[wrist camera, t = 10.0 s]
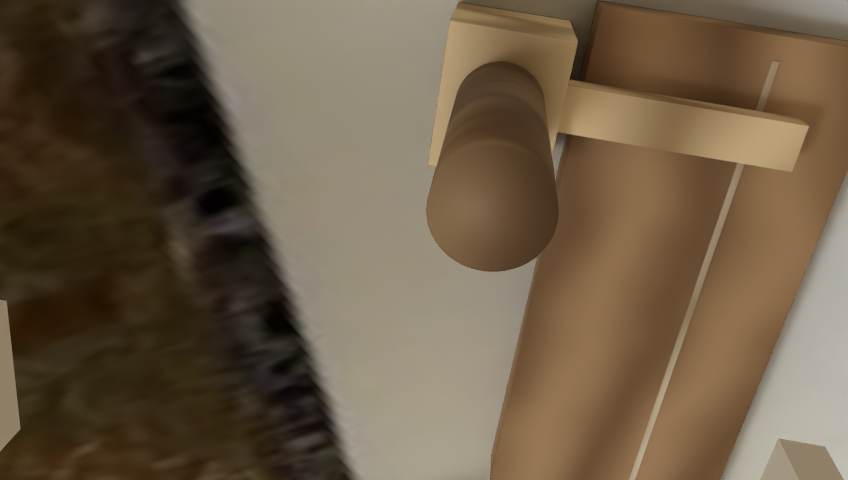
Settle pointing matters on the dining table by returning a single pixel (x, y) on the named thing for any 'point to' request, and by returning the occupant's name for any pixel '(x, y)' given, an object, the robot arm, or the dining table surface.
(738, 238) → the board
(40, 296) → the dining table surface
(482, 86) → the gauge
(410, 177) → the dining table surface
